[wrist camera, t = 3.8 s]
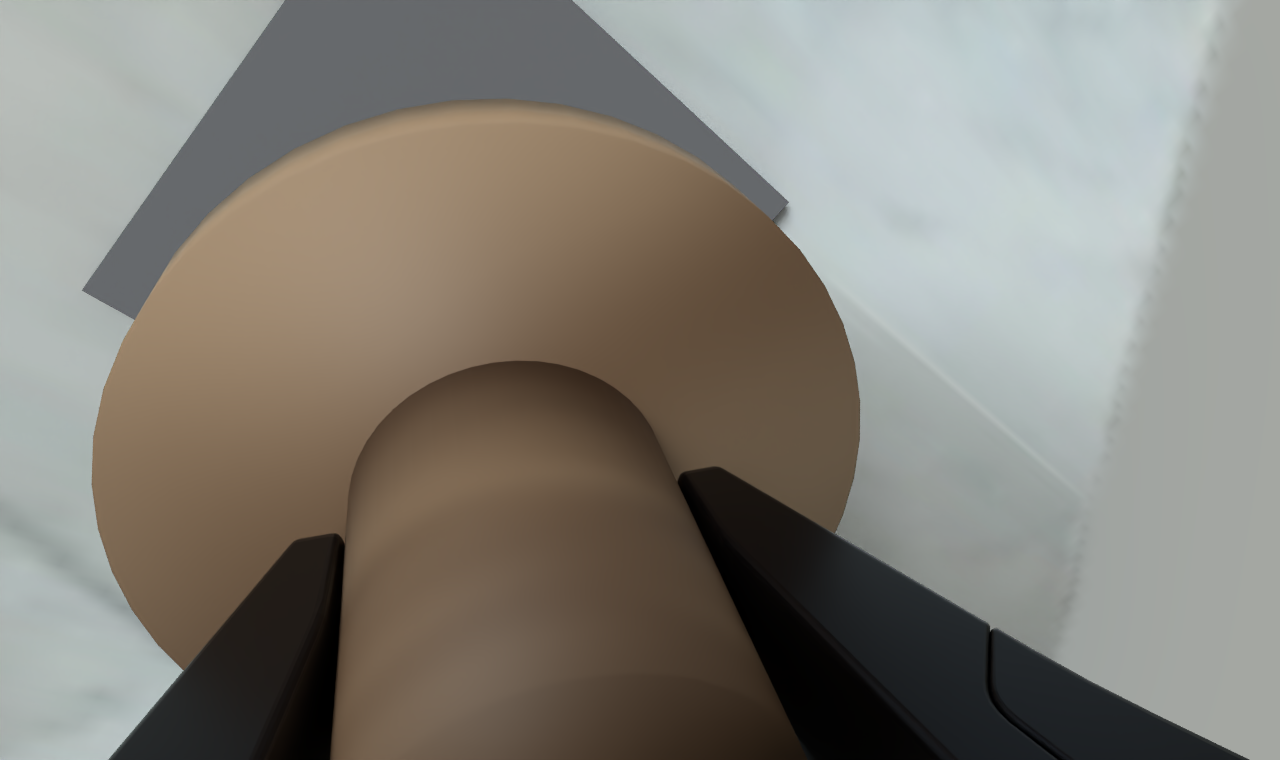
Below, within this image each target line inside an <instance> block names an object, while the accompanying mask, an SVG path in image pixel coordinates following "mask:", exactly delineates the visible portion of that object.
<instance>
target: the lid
mask: <svg viewBox="0 0 1280 760" xmlns="http://www.w3.org/2000/svg"><path fill="white" fill-rule="evenodd" d="M859 441H860V398H859V390H858V383H857V376H856V369H855V362H854V359H853V355H852V352H851V349H850V345H849V342H848V339H847V335H846V332H845V329H844V325H843V323H842V321H841V319H840V316H839V314H838V312H837V310H836V308H835V306H834V304H833V302H832V300H831V298H830V296H829V294H828V291H827V289H826V287H825V285H824V284H823V283H822V281H821V280H820V278H819V277H818V275H817V274H816V272H815V271H814V270H813V268H812V267H811V265H810V264H809V262H808V261H807V259H806V258H805V256H804V255H803V254H802V252H801V251H800V249H799V248H798V247H797V246H796V245H795V244H794V243H793V242H792V241H791V240H790V239H789V238H788V237H787V236H786V235H785V234H784V233H783V232H782V230H781V229H780V228H779V227H778V226H777V225H776V224H775V223H774V222H773V221H772V220H771V219H770V218H769V217H768V216H767V215H766V214H765V213H764V212H763V211H762V210H761V209H759V208H758V207H757V206H756V205H755V204H754V203H753V202H752V201H751V200H749V199H748V198H747V197H746V196H745V195H744V194H743V193H742V192H741V191H740V190H738V189H737V188H736V187H735V186H734V185H733V184H731V183H730V182H729V181H728V180H726V179H725V178H724V177H722V176H721V175H720V174H719V173H717V172H716V171H715V170H713V169H712V168H711V167H710V166H708V165H707V164H706V163H704V162H703V161H702V160H701V159H699V158H698V157H696V156H694V155H693V154H691V153H689V152H687V151H686V150H684V149H682V148H680V147H678V146H677V145H675V144H673V143H671V142H670V141H668V140H666V139H664V138H663V137H661V136H659V135H657V134H655V133H652V132H650V131H647V130H645V129H642V128H640V127H637V126H635V125H632V124H629V123H627V122H624V121H622V120H619V119H617V118H614V117H612V116H608V115H604V114H600V113H596V112H592V111H587V110H583V109H579V108H575V107H571V106H567V105H563V104H555V103H546V102H536V101H526V100H517V99H477V100H451V101H445V102H439V103H433V104H427V105H421V106H415V107H409V108H403V109H397V110H394V111H391V112H387V113H384V114H381V115H378V116H374V117H371V118H368V119H365V120H361V121H358V122H355V123H352V124H348V125H345V126H343V127H341V128H338V129H336V130H334V131H332V132H330V133H328V134H325V135H323V136H321V137H319V138H317V139H315V140H312V141H310V142H308V143H306V144H304V145H302V146H299V147H297V148H295V149H293V150H292V151H290V152H289V153H287V154H286V155H284V156H282V157H281V158H279V159H278V160H276V161H275V162H273V163H272V164H270V165H269V166H267V167H265V168H264V169H262V170H261V171H259V172H258V173H256V174H255V175H253V176H251V177H250V178H248V179H247V180H246V181H245V182H244V183H243V184H241V185H240V186H239V187H238V188H237V189H236V190H235V191H233V192H232V193H231V194H230V195H229V196H228V197H227V198H225V199H224V200H223V201H222V202H221V203H220V204H219V205H217V206H216V207H215V208H214V209H213V210H212V211H211V212H209V213H208V214H207V216H206V217H205V218H204V219H203V220H202V221H201V223H200V224H199V225H198V226H197V227H196V229H195V230H194V231H193V232H192V233H191V234H190V236H189V237H188V238H187V239H186V240H185V242H184V243H183V244H182V245H181V246H180V247H179V249H178V250H177V251H176V252H175V254H174V255H173V257H172V259H171V260H170V262H169V263H168V265H167V267H166V268H165V270H164V272H163V273H162V275H161V277H160V278H159V280H158V282H157V283H156V285H155V286H154V288H153V290H152V291H151V293H150V295H149V296H148V298H147V300H146V302H145V303H144V305H143V307H142V309H141V310H140V312H139V314H138V315H137V317H136V319H135V321H134V322H133V324H132V326H131V328H130V329H129V331H128V333H127V335H126V336H125V338H124V340H123V342H122V344H121V347H120V349H119V352H118V354H117V357H116V359H115V362H114V364H113V367H112V369H111V372H110V374H109V377H108V379H107V382H106V384H105V386H104V389H103V394H102V399H101V403H100V408H99V413H98V417H97V422H96V427H95V431H94V436H93V461H92V489H93V496H94V504H95V511H96V518H97V525H98V530H99V533H100V536H101V539H102V542H103V546H104V549H105V552H106V555H107V558H108V561H109V564H110V567H111V570H112V572H113V574H114V576H115V578H116V580H117V582H118V584H119V586H120V588H121V590H122V592H123V594H124V595H125V597H126V599H127V601H128V603H129V605H130V607H131V609H132V611H133V612H134V613H135V615H136V616H137V617H138V619H139V620H140V621H141V623H142V624H143V625H144V627H145V628H146V629H147V631H148V632H149V634H150V635H151V636H152V638H153V639H154V640H155V642H156V643H157V644H158V645H159V646H160V647H161V648H162V649H163V650H164V651H165V652H166V653H167V654H168V655H169V656H170V657H171V658H172V659H173V660H174V661H175V662H176V663H177V664H178V665H179V666H180V667H181V668H182V669H183V670H185V668H186V667H187V666H188V665H189V664H190V662H191V661H192V660H193V659H194V658H195V657H196V655H197V654H198V653H199V652H200V651H201V649H202V648H203V647H204V646H205V645H206V644H207V642H208V641H209V640H210V639H211V638H212V636H213V635H214V634H215V633H216V632H217V630H218V629H219V628H220V627H221V626H222V625H223V623H224V622H225V621H226V620H227V619H228V617H229V616H230V615H231V614H232V613H233V612H234V610H235V609H236V608H237V607H238V606H239V604H240V603H241V602H242V601H243V600H244V599H245V597H246V596H247V595H248V594H249V593H250V591H251V590H252V589H253V588H254V587H255V585H256V584H257V583H258V582H259V581H260V580H261V578H262V577H263V576H264V575H265V574H266V572H267V571H268V570H269V569H270V568H271V567H272V565H273V564H274V563H275V562H276V561H277V559H278V558H279V557H280V556H281V555H282V553H283V552H284V551H285V550H286V549H287V548H288V546H289V545H290V544H291V543H292V542H294V541H295V540H297V539H301V538H306V537H312V536H318V535H324V534H329V533H337V534H339V535H340V536H341V538H342V539H343V541H344V544H345V551H344V565H343V579H342V594H341V608H340V623H339V637H338V651H337V666H336V680H335V694H334V709H333V723H332V737H331V752H330V760H807V757H806V755H805V753H804V751H803V749H802V747H801V744H800V742H799V740H798V738H797V736H796V734H795V732H794V730H793V727H792V725H791V723H790V721H789V719H788V717H787V715H786V713H785V710H784V708H783V706H782V704H781V702H780V700H779V698H778V696H777V693H776V691H775V689H774V687H773V685H772V683H771V681H770V679H769V676H768V674H767V672H766V670H765V668H764V666H763V664H762V662H761V659H760V657H759V655H758V653H757V651H756V649H755V647H754V645H753V642H752V640H751V638H750V636H749V634H748V632H747V630H746V628H745V625H744V623H743V621H742V619H741V617H740V615H739V613H738V611H737V608H736V606H735V604H734V602H733V600H732V598H731V596H730V594H729V591H728V589H727V587H726V585H725V583H724V581H723V579H722V577H721V574H720V572H719V570H718V568H717V566H716V564H715V562H714V560H713V557H712V555H711V553H710V551H709V549H708V547H707V545H706V543H705V540H704V538H703V536H702V534H701V532H700V530H699V528H698V526H697V523H696V521H695V519H694V517H693V515H692V513H691V511H690V509H689V506H688V504H687V502H686V500H685V498H684V496H683V494H682V492H681V489H680V487H679V485H678V478H679V476H680V474H681V473H682V472H685V471H690V470H695V469H701V468H706V467H712V466H718V467H721V468H723V469H725V470H727V471H729V472H730V473H732V474H734V475H735V476H737V477H739V478H741V479H742V480H744V481H746V482H747V483H749V484H751V485H752V486H754V487H756V488H758V489H759V490H761V491H763V492H764V493H766V494H768V495H770V496H771V497H773V498H775V499H776V500H778V501H780V502H782V503H783V504H785V505H787V506H788V507H790V508H792V509H793V510H795V511H797V512H799V513H800V514H802V515H804V516H805V517H807V518H809V519H811V520H812V521H814V522H816V523H817V524H819V525H821V526H822V527H824V528H826V529H828V530H829V531H831V532H833V533H834V534H835V532H836V529H837V527H838V525H839V522H840V520H841V518H842V516H843V513H844V509H845V506H846V503H847V499H848V496H849V492H850V489H851V486H852V482H853V479H854V473H855V467H856V460H857V454H858V447H859Z"/></svg>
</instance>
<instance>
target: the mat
mask: <svg viewBox="0 0 1280 760" xmlns="http://www.w3.org/2000/svg"><path fill="white" fill-rule="evenodd" d="M477 99H517V100H526V101H536V102H546V103H555V104H563V105H567V106H571V107H575V108H579V109H583V110H587V111H592V112H596V113H600V114H604V115H608V116H612V117H614V118H617V119H619V120H622V121H624V122H627V123H629V124H632V125H635V126H637V127H640V128H642V129H645V130H647V131H650V132H652V133H655V134H657V135H659V136H661V137H663V138H664V139H666V140H668V141H670V142H671V143H673V144H675V145H677V146H678V147H680V148H682V149H684V150H686V151H687V152H689V153H691V154H693V155H694V156H696V157H698V158H699V159H701V160H702V161H703V162H704V163H706V164H707V165H708V166H710V167H711V168H712V169H713V170H715V171H716V172H717V173H719V174H720V175H721V176H722V177H724V178H725V179H726V180H728V181H729V182H730V183H731V184H733V185H734V186H735V187H736V188H737V189H738V190H740V191H741V192H742V193H743V194H744V195H745V196H746V197H747V198H748V199H749V200H751V201H752V202H753V203H754V204H755V205H756V206H757V207H758V208H759V209H761V210H762V211H763V212H764V213H765V214H766V215H767V216H768V217H769V218H770V219H771V220H773V219H774V218H775V217H776V216H777V215H778V214H779V213H780V211H781V210H782V209H783V208H784V207H785V206H786V205H787V204H788V203H789V202H788V201H787V200H786V199H785V198H784V197H783V196H782V195H781V194H780V193H779V192H777V191H776V190H775V189H774V188H773V187H772V186H771V185H770V184H769V183H768V182H767V181H766V180H765V179H763V178H762V177H761V176H760V175H759V174H758V173H757V172H756V171H755V170H754V169H753V168H752V167H751V166H749V165H748V164H747V163H746V162H745V161H744V160H743V159H742V158H741V157H740V156H739V155H738V154H737V153H736V152H734V151H733V150H732V149H731V148H730V147H729V146H728V145H727V144H726V143H725V142H724V141H723V140H722V139H720V138H719V137H718V136H717V135H716V134H715V133H714V132H713V131H712V130H711V129H710V128H709V127H708V126H706V125H705V124H704V123H703V122H702V121H701V120H700V119H699V118H698V117H697V116H696V115H695V114H694V113H692V112H691V111H690V110H689V109H688V108H687V107H686V106H685V105H684V104H683V103H682V102H681V101H680V100H679V99H677V98H676V97H675V96H674V95H673V94H672V93H671V92H670V91H669V90H668V89H667V88H666V87H665V86H663V85H662V84H661V83H660V82H659V81H658V80H657V79H656V78H655V77H654V76H653V75H652V74H651V73H649V72H648V71H647V70H646V69H645V68H644V67H643V66H642V65H641V64H640V63H639V62H638V61H637V60H636V59H634V58H633V57H632V56H631V55H630V54H629V53H628V52H627V51H626V50H625V49H624V48H623V47H622V46H620V45H619V44H618V43H617V42H616V41H615V40H614V39H613V38H612V37H611V36H610V35H609V34H608V33H606V32H605V31H604V30H603V29H602V28H601V27H600V26H599V25H598V24H597V23H596V22H595V21H594V20H592V19H591V18H590V17H589V16H588V15H587V14H586V13H585V12H584V11H583V10H582V9H581V8H580V7H579V6H577V5H576V4H575V3H574V2H573V1H572V0H285V1H284V3H283V4H282V6H281V7H280V9H279V10H278V11H277V13H276V14H275V16H274V17H273V19H272V20H271V21H270V23H269V24H268V26H267V27H266V29H265V30H264V31H263V33H262V34H261V36H260V37H259V39H258V40H257V41H256V43H255V44H254V46H253V47H252V49H251V50H250V51H249V53H248V54H247V56H246V57H245V59H244V60H243V61H242V63H241V64H240V66H239V67H238V68H237V70H236V71H235V73H234V74H233V76H232V77H231V78H230V80H229V81H228V83H227V84H226V86H225V87H224V88H223V90H222V91H221V93H220V94H219V96H218V97H217V98H216V100H215V101H214V103H213V104H212V106H211V107H210V108H209V110H208V111H207V113H206V114H205V116H204V117H203V118H202V120H201V121H200V123H199V124H198V126H197V127H196V128H195V130H194V131H193V133H192V134H191V135H190V137H189V138H188V140H187V141H186V143H185V144H184V145H183V147H182V148H181V150H180V151H179V153H178V154H177V155H176V157H175V158H174V160H173V161H172V163H171V164H170V165H169V167H168V168H167V170H166V171H165V173H164V174H163V175H162V177H161V178H160V180H159V181H158V183H157V184H156V185H155V187H154V188H153V190H152V191H151V193H150V194H149V195H148V197H147V198H146V200H145V201H144V203H143V204H142V205H141V207H140V208H139V210H138V211H137V212H136V214H135V215H134V217H133V218H132V220H131V221H130V222H129V224H128V225H127V227H126V228H125V230H124V231H123V232H122V234H121V235H120V237H119V238H118V240H117V241H116V242H115V244H114V245H113V247H112V248H111V250H110V251H109V252H108V254H107V255H106V257H105V258H104V260H103V261H102V262H101V264H100V265H99V267H98V268H97V270H96V271H95V272H94V274H93V275H92V277H91V278H90V279H89V281H88V282H87V284H86V285H85V287H84V288H83V289H82V291H84V292H86V293H87V294H89V295H91V296H93V297H95V298H96V299H98V300H100V301H102V302H104V303H105V304H107V305H109V306H111V307H113V308H115V309H116V310H118V311H120V312H122V313H124V314H125V315H127V316H129V317H131V318H133V319H134V320H135V319H136V317H137V315H138V314H139V312H140V310H141V309H142V307H143V305H144V303H145V302H146V300H147V298H148V296H149V295H150V293H151V291H152V290H153V288H154V286H155V285H156V283H157V282H158V280H159V278H160V277H161V275H162V273H163V272H164V270H165V268H166V267H167V265H168V263H169V262H170V260H171V259H172V257H173V255H174V254H175V252H176V251H177V250H178V249H179V247H180V246H181V245H182V244H183V243H184V242H185V240H186V239H187V238H188V237H189V236H190V234H191V233H192V232H193V231H194V230H195V229H196V227H197V226H198V225H199V224H200V223H201V221H202V220H203V219H204V218H205V217H206V216H207V214H208V213H209V212H211V211H212V210H213V209H214V208H215V207H216V206H217V205H219V204H220V203H221V202H222V201H223V200H224V199H225V198H227V197H228V196H229V195H230V194H231V193H232V192H233V191H235V190H236V189H237V188H238V187H239V186H240V185H241V184H243V183H244V182H245V181H246V180H247V179H248V178H250V177H251V176H253V175H255V174H256V173H258V172H259V171H261V170H262V169H264V168H265V167H267V166H269V165H270V164H272V163H273V162H275V161H276V160H278V159H279V158H281V157H282V156H284V155H286V154H287V153H289V152H290V151H292V150H293V149H295V148H297V147H299V146H302V145H304V144H306V143H308V142H310V141H312V140H315V139H317V138H319V137H321V136H323V135H325V134H328V133H330V132H332V131H334V130H336V129H338V128H341V127H343V126H345V125H348V124H352V123H355V122H358V121H361V120H365V119H368V118H371V117H374V116H378V115H381V114H384V113H387V112H391V111H394V110H397V109H403V108H409V107H415V106H421V105H427V104H433V103H439V102H445V101H451V100H477Z"/></svg>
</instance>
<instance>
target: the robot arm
mask: <svg viewBox="0 0 1280 760" xmlns="http://www.w3.org/2000/svg"><path fill="white" fill-rule="evenodd" d="M678 485H679V487H680V489H681V492H682V494H683V496H684V498H685V500H686V502H687V504H688V506H689V509H690V511H691V513H692V515H693V517H694V519H695V521H696V523H697V526H698V528H699V530H700V532H701V534H702V536H703V538H704V540H705V543H706V545H707V547H708V549H709V551H710V553H711V555H712V557H713V560H714V562H715V564H716V566H717V568H718V570H719V572H720V574H721V577H722V579H723V581H724V583H725V585H726V587H727V589H728V591H729V594H730V596H731V598H732V600H733V602H734V604H735V606H736V608H737V611H738V613H739V615H740V617H741V619H742V621H743V623H744V625H745V628H746V630H747V632H748V634H749V636H750V638H751V640H752V642H753V645H754V647H755V649H756V651H757V653H758V655H759V657H760V659H761V662H762V664H763V666H764V668H765V670H766V672H767V674H768V676H769V679H770V681H771V683H772V685H773V687H774V689H775V691H776V693H777V696H778V698H779V700H780V702H781V704H782V706H783V708H784V710H785V713H786V715H787V717H788V719H789V721H790V723H791V725H792V727H793V730H794V732H795V734H796V736H797V738H798V740H799V742H800V744H801V747H802V749H803V751H804V753H805V755H806V757H807V760H1249V759H1247V758H1245V757H1243V756H1240V755H1238V754H1236V753H1234V752H1232V751H1230V750H1228V749H1226V748H1224V747H1222V746H1220V745H1217V744H1216V743H1214V742H1212V741H1210V740H1208V739H1205V738H1203V737H1201V736H1199V735H1197V734H1195V733H1193V732H1191V731H1189V730H1187V729H1185V728H1183V727H1181V726H1179V725H1177V724H1174V723H1172V722H1170V721H1168V720H1166V719H1164V718H1162V717H1160V716H1158V715H1156V714H1154V713H1151V712H1150V711H1148V710H1146V709H1144V708H1142V707H1140V706H1138V705H1136V704H1134V703H1132V702H1130V701H1128V700H1126V699H1124V698H1122V697H1120V696H1118V695H1116V694H1114V693H1112V692H1110V691H1109V690H1107V689H1104V688H1103V687H1101V686H1099V685H1097V684H1095V683H1093V682H1091V681H1089V680H1087V679H1085V678H1084V677H1082V676H1080V675H1078V674H1076V673H1074V672H1073V671H1071V670H1069V669H1067V668H1066V667H1064V666H1062V665H1060V664H1058V663H1057V662H1055V661H1053V660H1051V659H1049V658H1048V657H1046V656H1044V655H1042V654H1040V653H1039V652H1037V651H1035V650H1033V649H1031V648H1030V647H1028V646H1026V645H1025V644H1023V643H1021V642H1019V641H1018V640H1016V639H1014V638H1013V637H1011V636H1009V635H1008V634H1006V633H1004V632H1002V631H1001V630H999V629H996V628H995V629H992V630H991V632H990V626H989V624H988V623H986V622H985V621H983V620H981V619H980V618H978V617H976V616H975V615H973V614H971V613H969V612H968V611H966V610H964V609H963V608H961V607H959V606H957V605H956V604H954V603H952V602H951V601H949V600H947V599H945V598H944V597H942V596H940V595H939V594H937V593H935V592H934V591H932V590H930V589H928V588H927V587H925V586H923V585H922V584H920V583H918V582H916V581H915V580H913V579H911V578H910V577H908V576H906V575H904V574H903V573H901V572H899V571H898V570H896V569H894V568H893V567H891V566H889V565H887V564H886V563H884V562H882V561H881V560H879V559H877V558H875V557H874V556H872V555H870V554H869V553H867V552H865V551H863V550H862V549H860V548H858V547H857V546H855V545H853V544H852V543H850V542H848V541H846V540H845V539H843V538H841V537H840V536H838V535H836V534H834V533H833V532H831V531H829V530H828V529H826V528H824V527H822V526H821V525H819V524H817V523H816V522H814V521H812V520H811V519H809V518H807V517H805V516H804V515H802V514H800V513H799V512H797V511H795V510H793V509H792V508H790V507H788V506H787V505H785V504H783V503H782V502H780V501H778V500H776V499H775V498H773V497H771V496H770V495H768V494H766V493H764V492H763V491H761V490H759V489H758V488H756V487H754V486H752V485H751V484H749V483H747V482H746V481H744V480H742V479H741V478H739V477H737V476H735V475H734V474H732V473H730V472H729V471H727V470H725V469H723V468H721V467H718V466H712V467H706V468H701V469H695V470H690V471H685V472H682V473H681V474H680V476H679V478H678ZM344 551H345V544H344V541H343V539H342V538H341V536H340V535H339V534H337V533H329V534H324V535H318V536H312V537H306V538H301V539H297V540H295V541H294V542H292V543H291V544H290V545H289V546H288V548H287V549H286V550H285V551H284V552H283V553H282V555H281V556H280V557H279V558H278V559H277V561H276V562H275V563H274V564H273V565H272V567H271V568H270V569H269V570H268V571H267V572H266V574H265V575H264V576H263V577H262V578H261V580H260V581H259V582H258V583H257V584H256V585H255V587H254V588H253V589H252V590H251V591H250V593H249V594H248V595H247V596H246V597H245V599H244V600H243V601H242V602H241V603H240V604H239V606H238V607H237V608H236V609H235V610H234V612H233V613H232V614H231V615H230V616H229V617H228V619H227V620H226V621H225V622H224V623H223V625H222V626H221V627H220V628H219V629H218V630H217V632H216V633H215V634H214V635H213V636H212V638H211V639H210V640H209V641H208V642H207V644H206V645H205V646H204V647H203V648H202V649H201V651H200V652H199V653H198V654H197V655H196V657H195V658H194V659H193V660H192V661H191V662H190V664H189V665H188V666H187V667H186V668H185V670H184V671H183V672H182V673H181V674H180V675H179V677H178V678H177V679H176V680H175V681H174V683H173V684H172V685H171V686H170V687H169V689H168V690H167V691H166V692H165V693H164V694H163V696H162V697H161V698H160V699H159V700H158V702H157V703H156V704H155V705H154V706H153V707H152V709H151V710H150V711H149V712H148V713H147V715H146V716H145V717H144V718H143V719H142V721H141V722H140V723H139V724H138V725H137V726H136V728H135V729H134V730H133V731H132V732H131V734H130V735H129V736H128V737H127V738H126V739H125V741H124V742H123V743H122V744H121V745H120V747H119V748H118V749H117V750H116V751H115V752H114V754H113V755H112V756H111V757H110V758H109V760H330V752H331V737H332V723H333V709H334V694H335V680H336V666H337V651H338V637H339V623H340V608H341V594H342V579H343V565H344Z"/></svg>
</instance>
